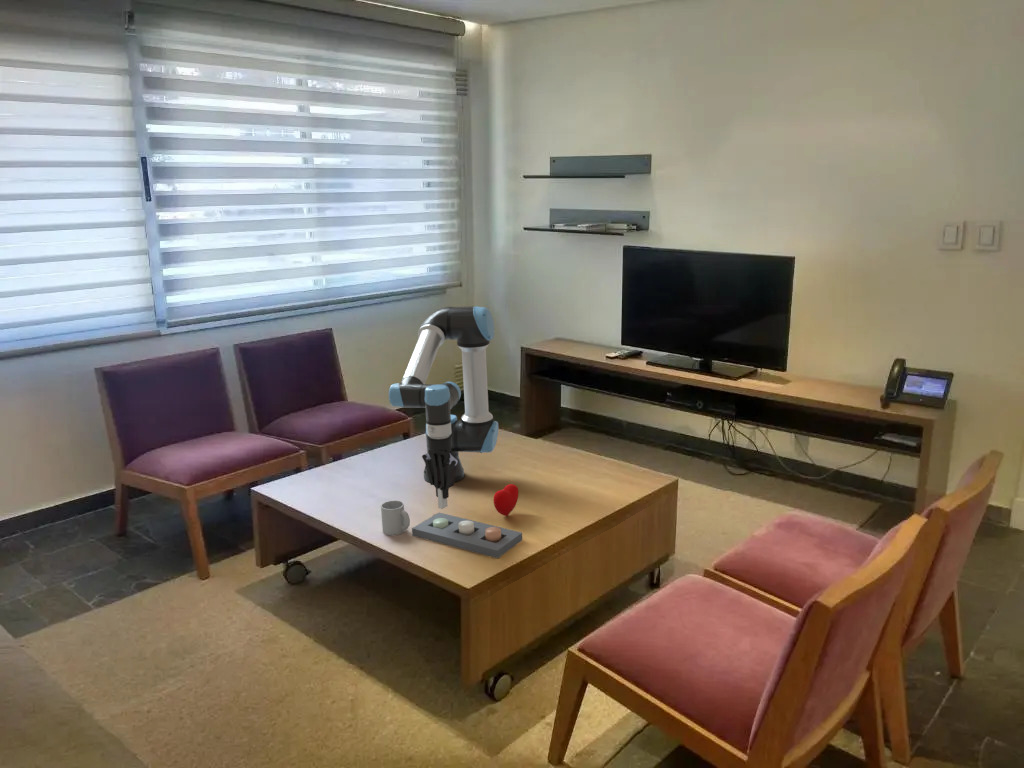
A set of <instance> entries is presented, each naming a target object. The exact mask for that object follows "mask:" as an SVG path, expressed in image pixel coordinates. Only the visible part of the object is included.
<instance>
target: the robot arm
mask: <svg viewBox="0 0 1024 768" xmlns="http://www.w3.org/2000/svg"><path fill="white" fill-rule="evenodd" d="M417 337H418V339H417V341H416V343H415V346H414V349H413V351H412V354H411V356H410V359H409V361H408V364H407V367H406V368H405V371H404V374H403V376H402V379H401V382H400V383H399V382H397V383H393V384H391V385H390V387H389V390H388V401H389V403H390V405H391V406H392V407H397V408H415V409H416V408H421V409H422V408H423V409H425V419H426V420H425V438H426V439H425V440H426V452H427V453H424V454H423V455H422V456H421V458H422V460H423V461H424V464H425V466H424V470H423V479H424V481H426V482H428V483H429V484H430V485H431V486H433V487H434V488H435V496H436V498H437V504H438V505H437V506H438V509H440V510H444V509H445V508H447V507H448V499H449V495H450V493H449V489H450V488H452V487H454V486H455V483H456V482H459V481H461V480H462V479H463V478H464V477H465V469H464V467H463V465H462V462H461V459H460V457H459V455H460V454H459V453H478V454H479V453H480V454H483V453H491V452H493V451H494V450H495V447H496V444H497V440H498V435H499V421H496V420H494V416H493V414H492V413H491V412H490V411H489V393H488V392H489V391H488V370H487V366H488V365H487V354H486V353H487V351H486V349H487V348H488V346H490V344H491V342H490V341H493V339H494V337H495V324H494V318H493V315H492V313H491V311H490V309H489V308H487V307H484V306H477V305H475V306H444V307H441V308H439V309H437V310H434V311H433V312H432V313H431V314H429V315H427V317H426V318H425V319H424V320H423V322H421V325H420V326H419V328H418V331H417ZM447 340H452V341H453V340H455V341H456V346H457V347H458V348H459V349H460V350H461V361H462V378H463V379H462V380H463V381H462V383H463V394H464V395H463V399H464V414H462V415H461V417H460V419H458V417H457V415H456V414H451V410H452V409H453V407H455V406H456V405H457V404H458V402H459V401H460V399H461V397H462V396H461V395H462V391H461V388H460V386H459V385H458V384H457V383H455V382H453V381H446V382H443V383H440V384H437V383H435V384H434V383H431V384H430V383H428V384H427V383H426V382H427V379H428V377H429V373H430V372H431V369H432V367H433V363H434V361H435V359H436V356H437V354H438V350H439V347H441V346H442V345H443V344H444V343H445V341H447Z"/></svg>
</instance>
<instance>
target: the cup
mask: <svg viewBox="0 0 1024 768" xmlns="http://www.w3.org/2000/svg"><path fill="white" fill-rule="evenodd" d="M380 512H381V526H382V527H381V528H382V532H383V534H385V535H387V536H398V535H402V534H403V533H404V532H405V531H407V530H408V529H409V527H410V524H411V520H410V515H409V514H408V512H407V511H406V510H405V503H404V502H403V501H401V500H388V501H384V502H383V503H382V504H381V505H380Z"/></svg>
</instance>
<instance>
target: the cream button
mask: <svg viewBox="0 0 1024 768" xmlns="http://www.w3.org/2000/svg"><path fill="white" fill-rule="evenodd" d="M468 520H469V519H468ZM468 520H467V521H461V522H459V524H458V526H459V534H462V535H466V536H470V535H471V534H473V533H474V522H472V521H473V520H472V521H468Z"/></svg>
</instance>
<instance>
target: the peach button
mask: <svg viewBox="0 0 1024 768" xmlns="http://www.w3.org/2000/svg"><path fill="white" fill-rule="evenodd" d="M498 527H499V526H497V527H490V528H487V529H486V530H485V537H486V541H490V542H494V543H497V542H499V541H500V540H501V529H500V528H498Z"/></svg>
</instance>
